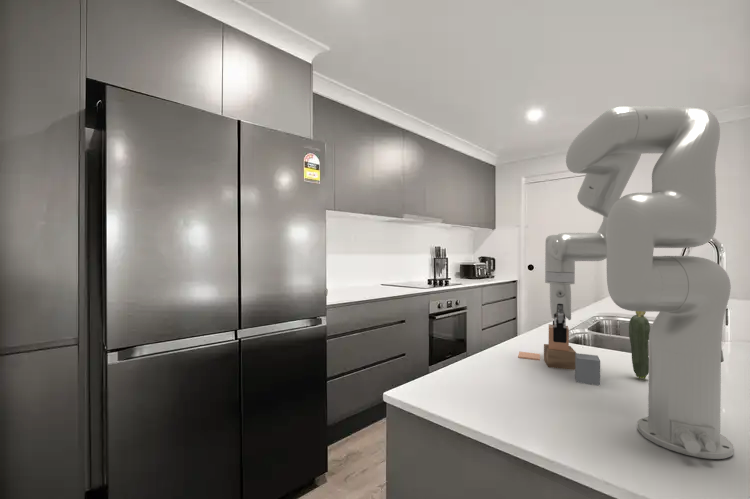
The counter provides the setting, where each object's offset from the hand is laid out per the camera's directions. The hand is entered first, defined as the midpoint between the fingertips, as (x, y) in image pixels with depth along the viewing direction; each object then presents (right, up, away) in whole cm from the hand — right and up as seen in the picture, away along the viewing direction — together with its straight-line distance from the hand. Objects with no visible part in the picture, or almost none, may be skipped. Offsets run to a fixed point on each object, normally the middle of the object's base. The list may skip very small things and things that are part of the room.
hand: (559, 338), depth 104 cm
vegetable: (+15, -8, -11) cm, 20 cm away
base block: (0, -8, 0) cm, 8 cm away
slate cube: (+1, -8, -13) cm, 15 cm away
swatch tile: (-5, -8, +8) cm, 12 cm away
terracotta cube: (0, -3, 0) cm, 3 cm away
